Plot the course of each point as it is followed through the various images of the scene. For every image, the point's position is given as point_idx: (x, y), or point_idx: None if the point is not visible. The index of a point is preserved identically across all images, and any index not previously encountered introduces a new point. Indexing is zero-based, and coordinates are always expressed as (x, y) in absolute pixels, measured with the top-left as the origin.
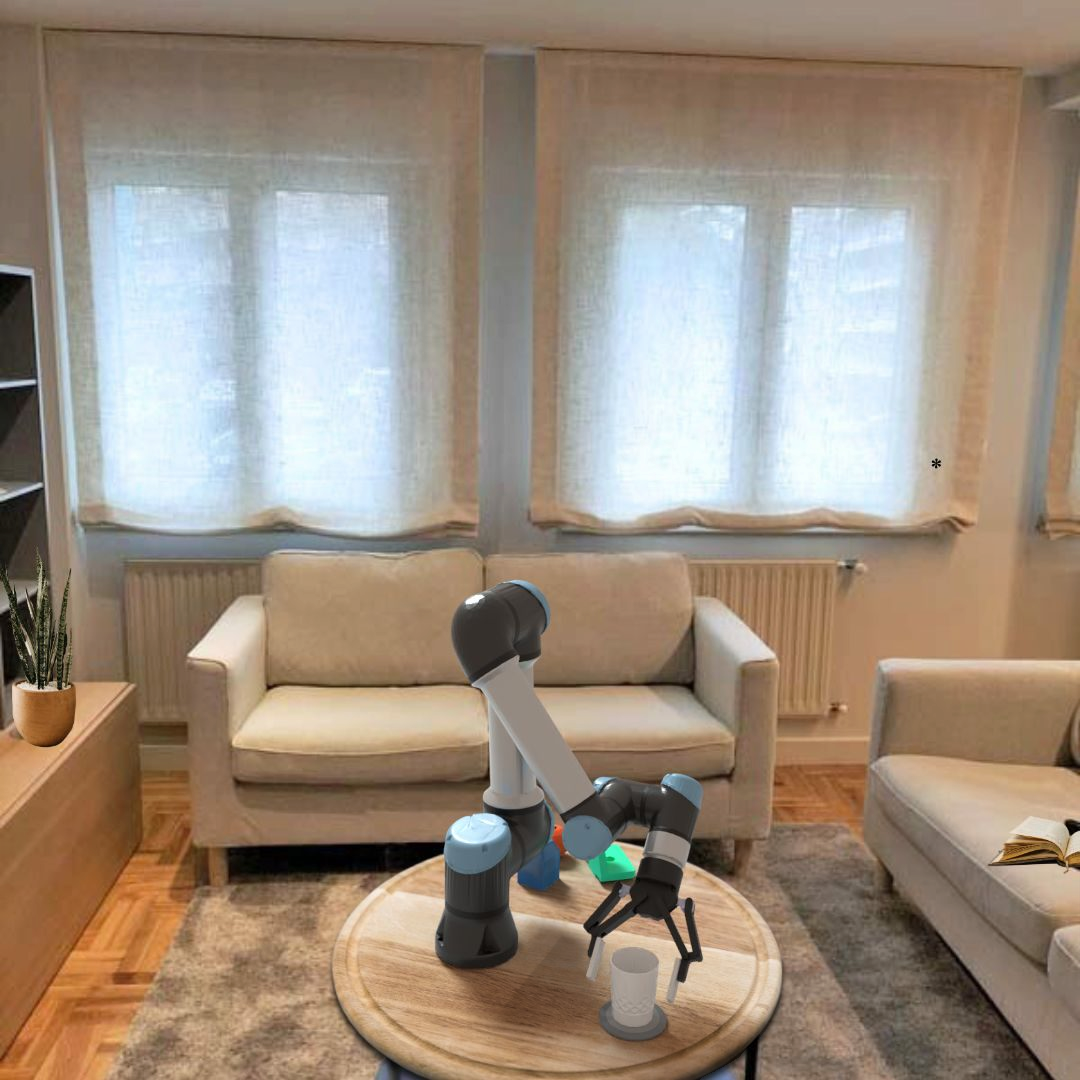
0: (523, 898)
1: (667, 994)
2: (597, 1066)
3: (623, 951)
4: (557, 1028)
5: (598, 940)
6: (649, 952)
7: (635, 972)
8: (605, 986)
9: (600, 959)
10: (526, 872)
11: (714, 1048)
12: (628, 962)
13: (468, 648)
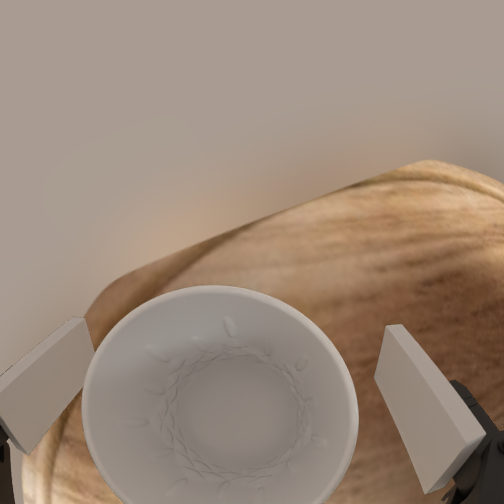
0: None
1: (75, 322)
2: (258, 232)
3: (309, 497)
4: (384, 299)
5: (468, 425)
6: None
7: (247, 488)
8: (354, 498)
9: (401, 435)
10: None
11: None
12: (277, 492)
13: None
